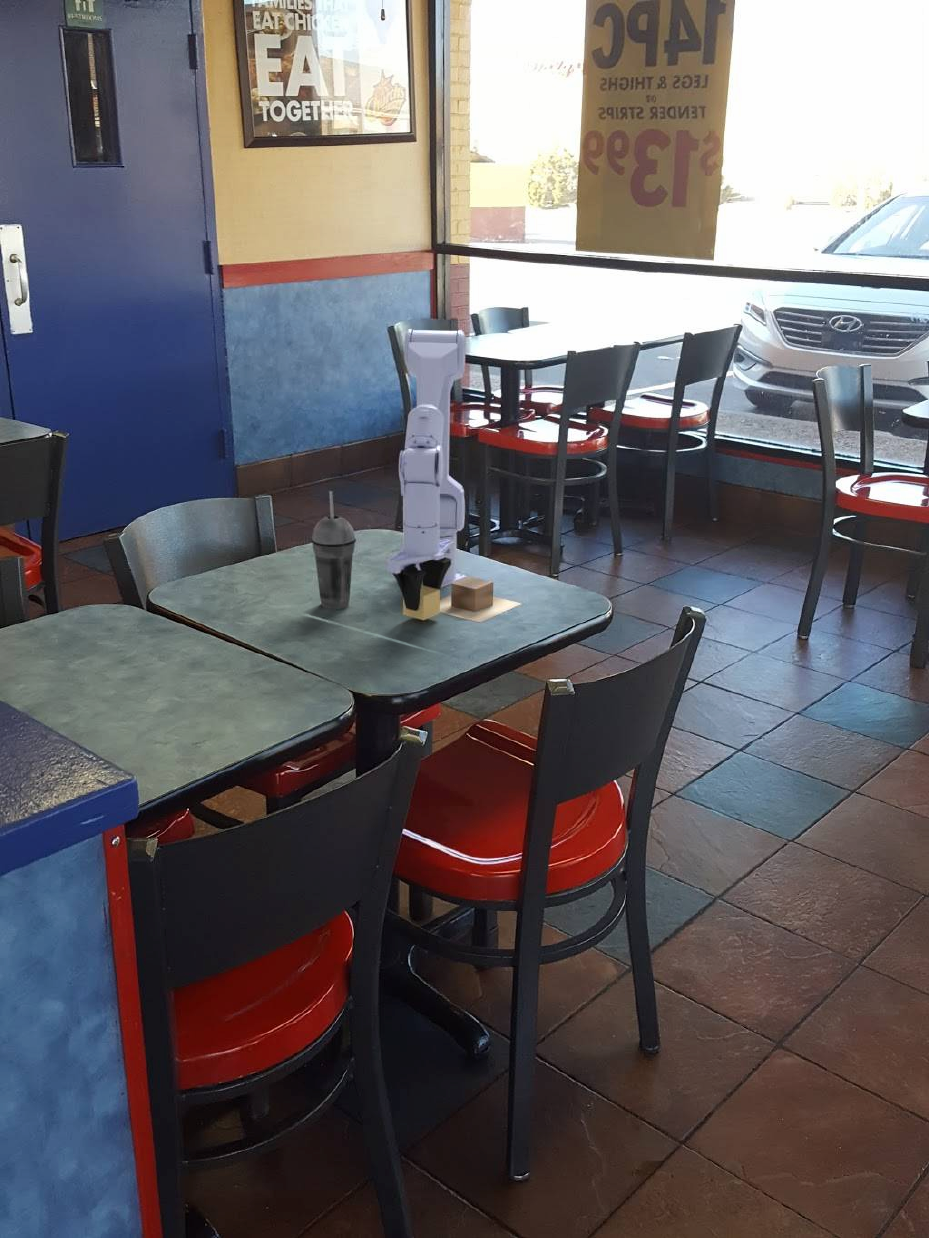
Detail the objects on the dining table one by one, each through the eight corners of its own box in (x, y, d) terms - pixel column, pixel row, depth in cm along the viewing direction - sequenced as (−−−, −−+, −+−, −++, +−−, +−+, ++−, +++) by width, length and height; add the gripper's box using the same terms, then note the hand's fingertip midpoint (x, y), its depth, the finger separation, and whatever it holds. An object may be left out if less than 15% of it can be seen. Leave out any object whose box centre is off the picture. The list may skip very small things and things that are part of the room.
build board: (421, 609, 200) (421, 607, 200) (464, 591, 209) (464, 589, 209) (479, 624, 193) (479, 622, 193) (522, 605, 202) (522, 603, 202)
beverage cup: (360, 600, 204) (358, 485, 197) (352, 615, 197) (350, 495, 190) (318, 599, 204) (315, 483, 197) (309, 613, 197) (305, 494, 191)
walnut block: (451, 606, 200) (451, 583, 199) (469, 598, 204) (469, 576, 203) (475, 612, 197) (475, 589, 196) (492, 604, 201) (493, 581, 200)
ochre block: (403, 614, 193) (403, 591, 192) (419, 607, 196) (419, 584, 195) (423, 620, 191) (423, 596, 189) (439, 613, 194) (440, 589, 192)
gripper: (411, 537, 180) (412, 622, 185) (469, 518, 191) (468, 598, 196) (376, 529, 184) (377, 613, 189) (434, 510, 195) (434, 590, 200)
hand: (421, 605), depth 193 cm, fingers closed on ochre block, 4 cm apart
